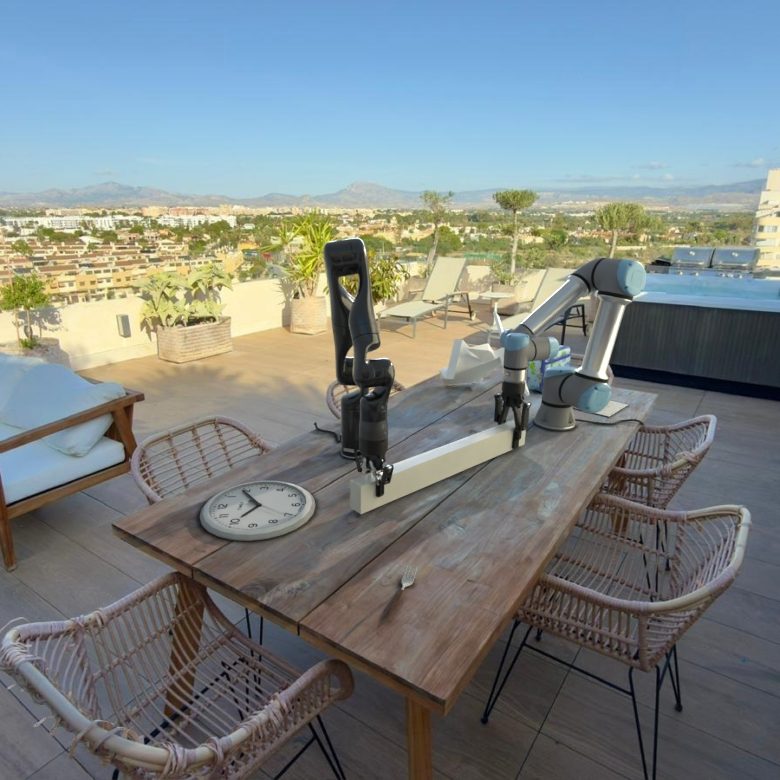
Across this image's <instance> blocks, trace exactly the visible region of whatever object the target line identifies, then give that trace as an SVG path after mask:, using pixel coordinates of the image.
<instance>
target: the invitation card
mask: <svg viewBox="0 0 780 780" xmlns="http://www.w3.org/2000/svg"><path fill="white" fill-rule="evenodd" d="M628 406H629V404H627V403H623V402H618V401H614V400H610V401H609V403H608V404H607V406H606V407H605V408H604V409H602V410H601V411H599V412H597V413H595V414H596V415H600V416H604V417H608V418H609V417H611V416H613V415H614V414H616V413H617V412H619V411H621V410H623V409H624V408H626V407H628ZM573 409H575V410H579V409H578V408H575V407H573Z"/></svg>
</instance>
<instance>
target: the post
mask: <svg viewBox="0 0 780 780" xmlns="http://www.w3.org/2000/svg"><path fill="white" fill-rule="evenodd" d="M505 422H506V423H503V424H501V425H498V424H497V425H495V426H493V427H490V428H488V429H484V430H482V431H479V432H476V433H473V434H471V435H468V436H466V437H463V438H460V439H458V440H454V441H452V442H449V443H446V444H444V445H441V446H438V447H436V448H432V449H430V450H427V451H424V452H422V453H420V454H416V455H414V456H411V457H408V458H406V459H403V460H401V461H398V462H395V463H392V465H393V466H394V469H393V473H392V478H391V482H390V483H389V484H386V485H384V495H383V496H381V497H376V480H375V477H373V473H372V472H371V473H368V474H365V475H360V476H358V477H354V478H351V479H350V480H349V508H350V509H352V511H354V512H356V513H357V514H360V515H363V514H365V513H368V512H370V511H372V510H375V509H377V508H380V507H381V506H384V505H386V504H388V503H389V504H390V503H391V502H394V501H396V500H398V499H400V498H403V497H405V496H408V495H410V494H412V493H414V492H417V491H419V490H422V489H424V488H426V487H429V486H431V485H433V484H435V483H437V482H440V481H442V480H445V479H447V478H450V477H452V476H454V475H457V474H459V473H461V472H464V471H467V470H468V469H470V468H473V467H475V466H478V465H480V464H482V463H484V462H487V461H490V460H492V459H493V458H496V457H499V456H501V455H503V454H505V453H508V452H510V451H512V450H514V449H512V442H513V431H514V430H516V429H515V421H514V419H511V420H509V421H505ZM526 432H527V429H526V430H524V431H522V435H521V439H520V440H519V447H518V448H520V447H522V446H524V445H525V444H526V434H527V433H526ZM380 471H381V470H380ZM380 471H377V473H378V472H380ZM379 479H380V480H381V476H379Z"/></svg>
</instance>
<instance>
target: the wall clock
mask: <svg viewBox="0 0 780 780" xmlns="http://www.w3.org/2000/svg"><path fill="white" fill-rule="evenodd" d="M315 501H316V500H315V498H314V496H313V495H312V493H310V492H309V491H308V490H307V489H305V488H303V487H302V486H300V485H297V484H294V483H291V482H288V481H287V482H286V481H281V480H256V481H249V482H243V483H240V484H236V485H234V486H231V487H228V488H226V489H224V490H221V491H220V492H218V493H216V494H215V495H214V496H212V497H211V498H210V499H208V500H207V501H206V502H205V504H204V505H203V507H201V509H200V514H199V521H200V523H201V526H202V527H203V528H204V529H205V530H206V531H207V532H208V533H209V534H211V535H213V536H216V537H217V538H220V539H221V538H222V539H227V540H230V541H241V542H243V541H244V542H246V541H247V542H251V541H252V542H253V541H261V540H268V539H272V538H277V537H279V536H283V535H286V534H288V533H290V532H293V531H295V530H297V529H298V528H300V527H301V526H303V525H305V524H306V523H307V522H308V521H309V520H310V519H311V518H312V516H313V515H314V513H315V510H316V502H315Z"/></svg>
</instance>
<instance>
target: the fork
mask: <svg viewBox="0 0 780 780" xmlns="http://www.w3.org/2000/svg"><path fill="white" fill-rule="evenodd" d="M408 566H409V565H408V563H407V564H406V567H405V570H404V572H403V575H402V578H401V580H400V581H401V583H400V584H401V585H402V587H401V588H400V590H399V591H398V593H397V594H396V596H395V597H394V599H393V600H392V604H391V606H390V608H389V611H388V614H387V616H386V620H388V619H389V618H390V617H391V615H392V613H393V612H394V610H395V609H396V607H397V606H398V605H399V604H400V601H401V598H402V595H403V592H404V590H405V588H407V587H409V586H412V585H413V583H414V581H415V578H416V573H417V569H418V566H416V567H415V566H414V565H411V564H410V566H409V568H408ZM411 566H412V569H411ZM414 567H415V570H414ZM410 571H411V572H410Z"/></svg>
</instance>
